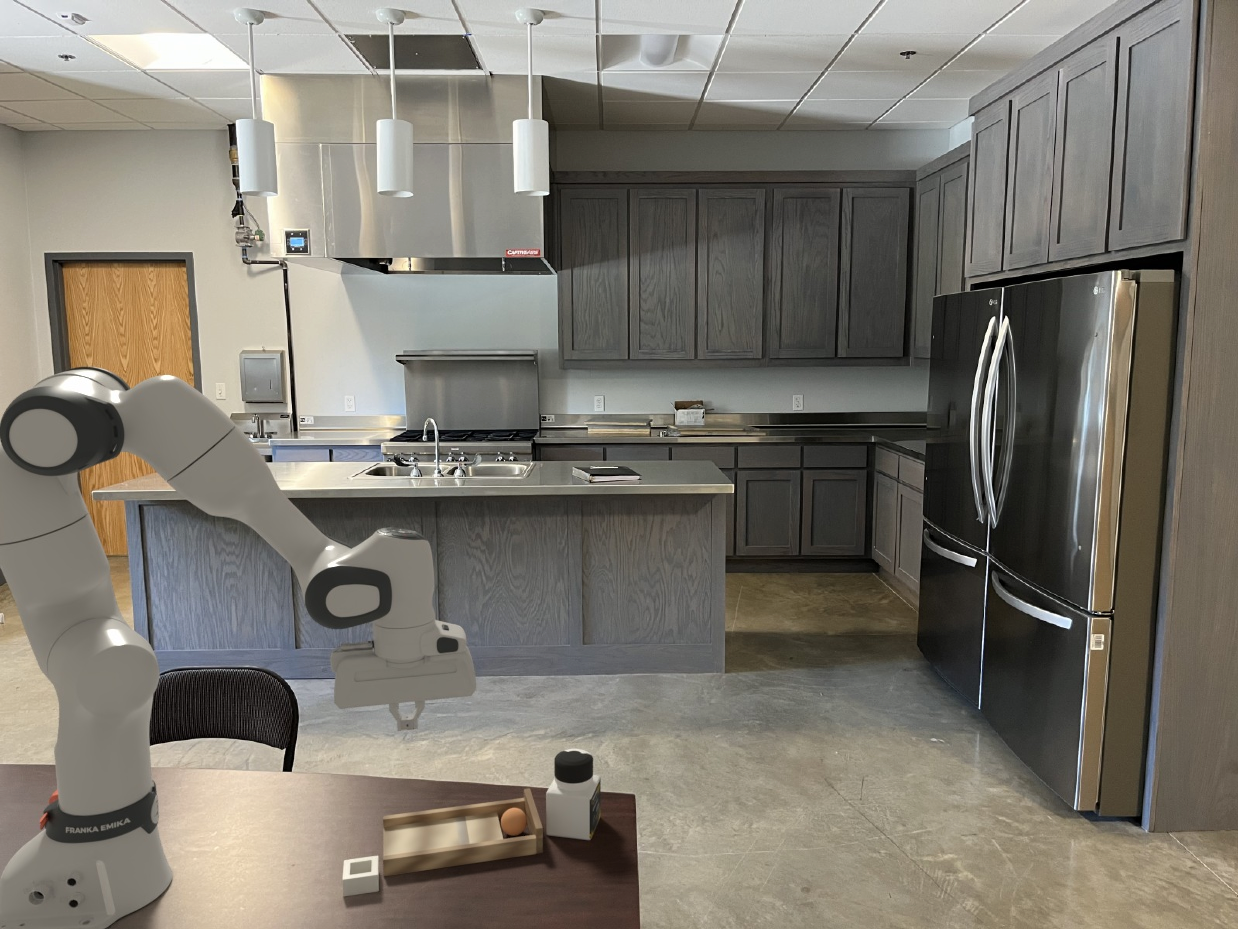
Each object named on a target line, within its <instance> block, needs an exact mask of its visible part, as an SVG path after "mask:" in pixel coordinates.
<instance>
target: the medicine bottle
mask: <svg viewBox="0 0 1238 929" xmlns="http://www.w3.org/2000/svg"><path fill="white" fill-rule="evenodd" d="M553 760H554V761H553V762H554V763H553V764H554V765H553V766H554V768H553V769H554V775H553V778H554V779H553V780H552V781H551V783H550V786H549V787H548V789H547V791H546V792H545V793H546V794H545V799H546V800H545V810H546V811H545V817H546V819H545V824H546V827H545V828H546V832H545V833H546V835H547V836H550V837H560V838H567V839H575V840H585V841H591V839H592V838H593V835H594V833H595V830H596V828H597V826H598V823H599V821H600V818H601V805H602V803H601V801H602V800H601V795H602V794H601V793H602V792H601V791H602V790H601V789H602V787H601V782H602V781H601V775H596V774H594V756H593V755H592V753H590V752H589V751H587V750H584V749H581V748H568V749H564V750H562V751H559V752H558V753H557V754H556V755H555V757H554V759H553Z"/></svg>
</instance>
